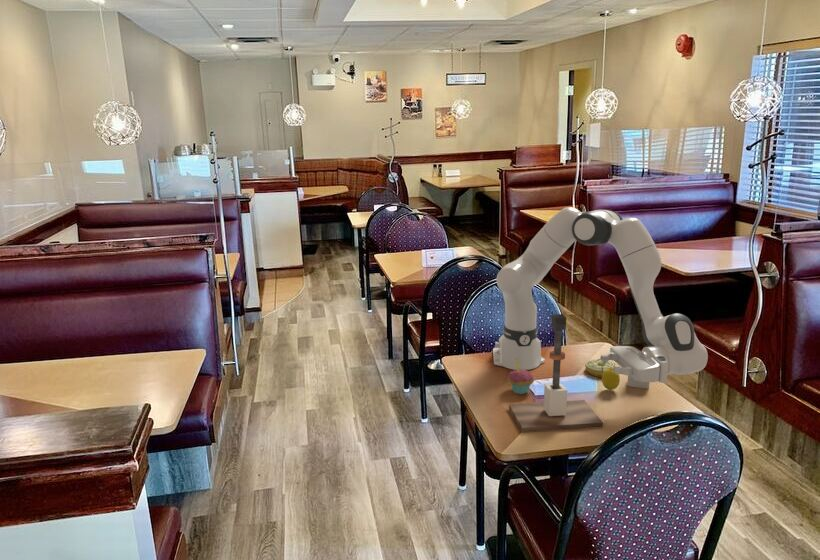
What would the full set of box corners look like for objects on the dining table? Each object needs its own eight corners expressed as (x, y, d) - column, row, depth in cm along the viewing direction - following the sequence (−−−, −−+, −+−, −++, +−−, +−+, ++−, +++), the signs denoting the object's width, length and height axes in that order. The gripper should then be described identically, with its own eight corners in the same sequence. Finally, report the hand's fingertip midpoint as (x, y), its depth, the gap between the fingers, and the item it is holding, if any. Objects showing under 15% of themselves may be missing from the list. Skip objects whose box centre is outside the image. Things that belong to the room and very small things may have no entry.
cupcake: (518, 398, 203) (519, 363, 200) (501, 389, 210) (502, 355, 207) (538, 392, 208) (540, 358, 204) (521, 383, 215) (522, 350, 212)
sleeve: (543, 408, 192) (544, 383, 190) (560, 407, 192) (561, 382, 190) (548, 416, 187) (550, 391, 185) (566, 415, 187) (567, 390, 185)
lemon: (619, 394, 205) (621, 371, 203) (601, 393, 206) (603, 370, 204) (617, 387, 210) (619, 365, 208) (600, 386, 211) (601, 364, 209)
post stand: (509, 408, 196) (511, 310, 188) (584, 404, 199) (589, 306, 190) (522, 432, 182) (525, 326, 174) (602, 427, 184) (609, 322, 176)
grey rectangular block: (648, 388, 209) (651, 360, 206) (627, 386, 211) (629, 358, 209) (648, 384, 212) (651, 356, 210) (627, 381, 215) (629, 354, 212)
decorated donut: (599, 364, 230) (600, 354, 229) (623, 374, 221) (624, 364, 220) (578, 370, 224) (579, 360, 223) (602, 381, 216) (603, 370, 215)
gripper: (637, 339, 198) (594, 342, 197) (670, 364, 178) (622, 367, 177) (636, 358, 199) (593, 361, 198) (668, 385, 180) (621, 388, 178)
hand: (607, 364), depth 187 cm, fingers open, 8 cm apart
